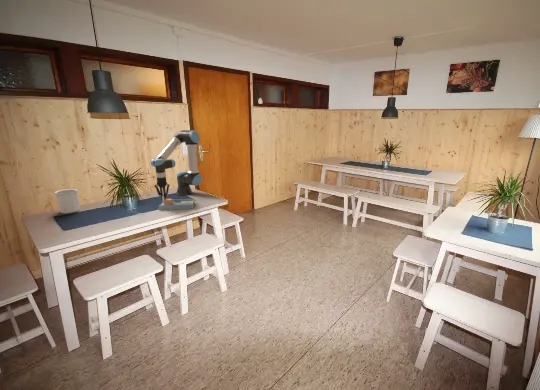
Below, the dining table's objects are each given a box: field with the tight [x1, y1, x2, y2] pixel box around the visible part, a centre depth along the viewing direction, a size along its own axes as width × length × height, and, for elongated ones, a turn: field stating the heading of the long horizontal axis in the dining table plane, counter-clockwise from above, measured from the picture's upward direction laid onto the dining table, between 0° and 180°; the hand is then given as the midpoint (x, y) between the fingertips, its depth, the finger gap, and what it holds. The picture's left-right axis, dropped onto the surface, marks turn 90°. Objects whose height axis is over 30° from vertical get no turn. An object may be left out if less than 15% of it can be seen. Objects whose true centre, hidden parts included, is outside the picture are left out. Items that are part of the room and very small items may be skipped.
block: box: [164, 198, 174, 205], centre depth 231 cm, size 6×6×4 cm
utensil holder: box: [54, 188, 81, 214], centre depth 219 cm, size 15×15×18 cm
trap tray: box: [158, 198, 196, 211], centre depth 233 cm, size 16×28×4 cm, turn 97°
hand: (164, 202), depth 231 cm, fingers closed
